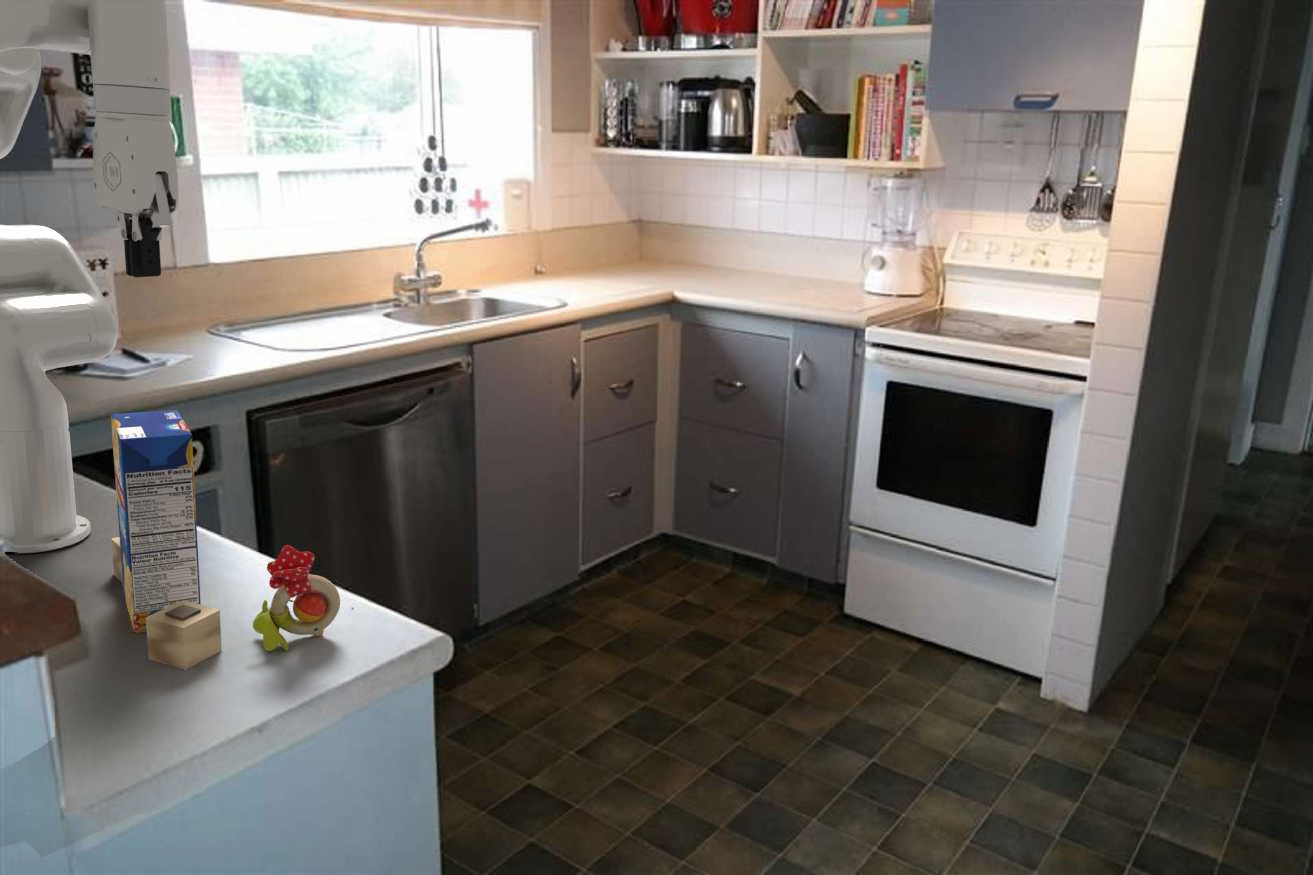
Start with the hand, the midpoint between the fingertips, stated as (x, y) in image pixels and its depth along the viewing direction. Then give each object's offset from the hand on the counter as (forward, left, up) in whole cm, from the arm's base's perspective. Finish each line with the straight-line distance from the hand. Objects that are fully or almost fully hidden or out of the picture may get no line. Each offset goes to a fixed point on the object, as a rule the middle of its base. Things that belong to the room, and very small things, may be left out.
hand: (143, 275), depth 120 cm
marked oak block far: (-3, -1, -37) cm, 37 cm away
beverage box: (+7, -4, -37) cm, 38 cm away
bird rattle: (+24, +2, -37) cm, 44 cm away
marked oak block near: (+19, -8, -37) cm, 43 cm away
